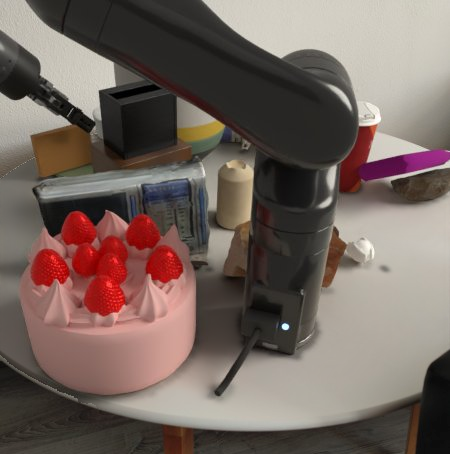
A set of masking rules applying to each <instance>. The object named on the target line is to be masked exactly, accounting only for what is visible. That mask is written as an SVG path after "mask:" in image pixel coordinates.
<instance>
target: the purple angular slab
mask: <svg viewBox="0 0 450 454" xmlns="http://www.w3.org/2000/svg"><path fill="white" fill-rule="evenodd" d="M449 162H450V150H446V149H444V148H440V149H439V148H438V149H437V148H436V149H430V150H423V151H416V152H411V153H404V154H399V155H395V156H389V157H387V158H386V157H385V158H381V159H377V160H373V161H367V163H364V164H362V165H361V166H360V168H359V176H360V178H361V179H362V180H361V181H363V182H365V183H366V182H371V181H375V180H380V179H381V180H382V179H386V178H392V177H395V176H401V175H406V174H410V173H414V172H419V171H424V170H427V169H431V168H436V167H440V166H444V165H445V164H446V163H449Z"/></svg>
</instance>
